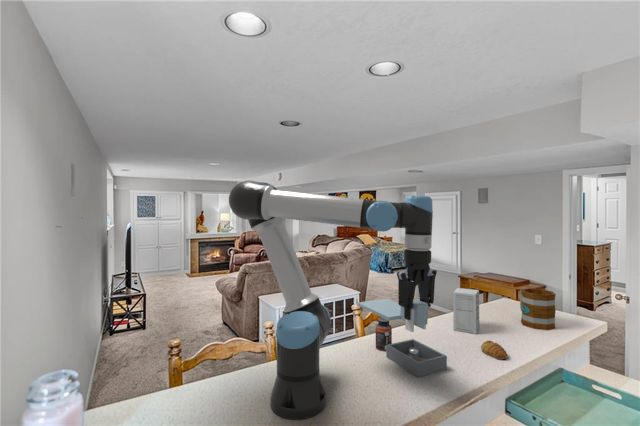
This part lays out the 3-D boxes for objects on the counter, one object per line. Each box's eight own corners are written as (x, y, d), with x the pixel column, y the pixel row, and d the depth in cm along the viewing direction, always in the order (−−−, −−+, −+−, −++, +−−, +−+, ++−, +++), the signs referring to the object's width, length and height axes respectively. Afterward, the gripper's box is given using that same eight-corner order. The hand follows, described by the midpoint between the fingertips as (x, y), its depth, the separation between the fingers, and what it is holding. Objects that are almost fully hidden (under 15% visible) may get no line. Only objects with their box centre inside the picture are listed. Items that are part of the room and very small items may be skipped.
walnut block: (418, 373, 109) (418, 363, 109) (407, 368, 112) (407, 359, 112) (425, 369, 111) (425, 360, 111) (415, 365, 114) (415, 356, 114)
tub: (418, 379, 106) (418, 363, 106) (386, 359, 120) (386, 344, 120) (446, 371, 111) (446, 355, 111) (413, 352, 126) (413, 338, 126)
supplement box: (480, 328, 150) (480, 289, 150) (476, 334, 143) (476, 294, 142) (457, 324, 156) (457, 287, 155) (452, 330, 148) (452, 291, 147)
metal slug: (413, 360, 118) (413, 351, 118) (406, 356, 121) (406, 348, 121) (421, 358, 119) (421, 350, 119) (414, 354, 122) (414, 346, 122)
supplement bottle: (391, 353, 125) (391, 322, 125) (375, 352, 126) (375, 321, 126) (391, 347, 131) (391, 317, 131) (375, 345, 132) (375, 316, 132)
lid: (405, 328, 95) (405, 307, 94) (357, 305, 116) (357, 287, 115) (438, 322, 100) (438, 301, 100) (387, 301, 121) (387, 284, 121)
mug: (563, 330, 147) (563, 295, 147) (531, 330, 147) (531, 295, 147) (535, 315, 167) (535, 285, 166) (507, 315, 167) (507, 285, 167)
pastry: (513, 359, 119) (513, 349, 119) (496, 362, 118) (496, 351, 118) (494, 349, 129) (494, 338, 129) (478, 350, 127) (478, 340, 127)
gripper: (403, 252, 92) (401, 338, 92) (449, 249, 100) (446, 329, 100) (386, 248, 99) (384, 329, 99) (429, 246, 107) (427, 321, 107)
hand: (415, 328), depth 100 cm, fingers closed on lid, 4 cm apart
